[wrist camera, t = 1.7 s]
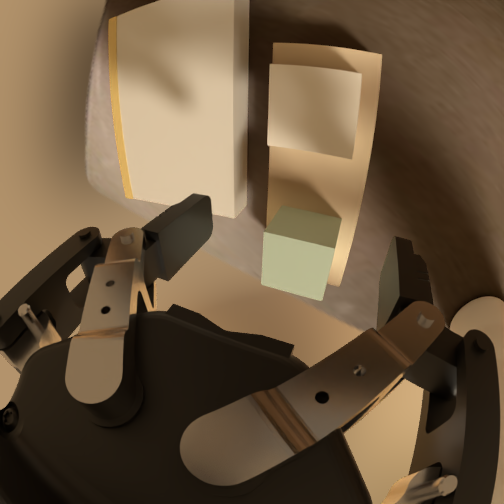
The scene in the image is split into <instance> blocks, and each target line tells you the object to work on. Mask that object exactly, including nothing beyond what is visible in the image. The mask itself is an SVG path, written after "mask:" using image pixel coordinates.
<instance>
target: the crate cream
mask: <svg viewBox="0 0 504 504" xmlns="http://www.w3.org/2000/svg"><path fill="white" fill-rule="evenodd" d="M361 84H362V74H361V73H355V72H349V71H343V70H336V69H329V68H320V67H311V66H299V65H283V64H270V70H269V106H268V136H267V145H269V146H276V147H283V148H290V149H297V150H303V151H309V152H315V153H320V154H326V155H331V156H336V157H341V158H346V159H351V160H352V156H353V151H354V145H355V138H356V131H357V123H358V114H359V105H360V95H361Z"/></svg>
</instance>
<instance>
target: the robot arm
mask: <svg viewBox="0 0 504 504" xmlns="http://www.w3.org/2000/svg"><path fill="white" fill-rule="evenodd" d="M212 230H213V221H212V205H211V198H210V197H209V196H208V195H202V194H196V193H193V194H191V195H190V196H188V197H187V198H186V199H184V200H183V201H181V202H180V203H177V204H175V205H172V206H171V207H169V208H168V209H167V210H165V212H163V213H161V214H160V215H159V216H157V217H156V218H154V219H153V220H152V221H150V222H149V223H148V224H146V225H145V226H144V227H142V228H141V229H139V228H135V227H132V228H126V229H123V230H120V231H118V232H117V233H116V234H114V236H113V237H112V238H101V234H100V231H99V229H98V228H96V227H88V228H85V229H82V230H80V231H78V232H77V233H75V234H74V235H73V236H72V237H70V238H69V239H68V240H67V241H65V242H64V243H63V244H62V245H60V246H59V247H58V248H57V249H56V250H54V251H53V252H52V253H51V254H49V255H48V256H47V257H46V258H45V259H44V260H42V262H40V263H39V264H38V265H37V266H36V267H35V268H33V269H32V270H31V271H30V272H29V273H28V274H27V275H26V276H24V277H23V279H21V280H20V281H19V282H18V283H17V284H16V285H15V286H14V287H13V288H12V289H11V290H10V291H9V292H8V293H7V294H6V295H5V296H4V297H3V298H2V299H1V300H0V354H1V355H2V356H3V357H4V358H5V359H6V360H7V362H8V363H9V364H10V365H11V366H13V367H14V368H15V369H16V370H17V371H18V372H19V373H20V374H21V375H20V379H19V382H18V384H17V387H16V389H15V392H14V394H13V396H12V398H11V400H10V402H9V403H8V405H7V406H6V407H5V408H3V409H2V410H0V504H372V500H371V496H370V494H369V492H368V489H367V487H366V485H365V482H364V480H363V478H362V476H361V473H360V471H359V469H358V466H357V464H356V461H355V459H354V457H353V455H352V453H351V450H350V448H349V445H348V443H347V441H346V439H345V436H344V433H345V432H347V431H348V430H349V429H351V428H352V427H353V426H354V425H356V424H357V423H358V422H359V421H360V420H362V419H363V418H364V417H365V416H366V415H367V414H368V413H369V412H370V411H371V410H373V409H374V408H375V407H376V406H377V405H378V404H379V403H380V402H381V401H383V400H384V399H385V398H386V397H387V396H388V395H389V394H390V393H391V392H392V391H393V390H394V389H395V388H397V387H398V385H400V384H401V382H403V381H404V379H406V380H408V381H410V382H412V383H414V384H416V385H417V386H419V387H421V388H423V389H424V391H423V400H422V409H421V416H420V422H419V428H418V434H417V440H416V445H415V450H414V455H413V459H412V463H411V467H410V471H409V475H408V476H405V477H403V478H401V479H399V480H398V481H397V482H396V483H395V484H394V485H393V486H392V487H391V489H390V491H389V492H388V494H387V496H386V498H385V499H384V501H383V502H382V503H381V504H491V502H492V497H493V492H494V487H495V481H496V474H497V467H498V458H499V445H500V392H499V379H498V369H497V361H496V354H495V348H494V345H493V343H492V341H491V339H490V338H489V337H488V336H487V335H486V334H485V333H483V332H482V331H480V330H476V329H472V330H469V331H468V332H467V333H466V334H465V336H464V337H462V336H460V335H458V334H456V333H454V332H453V331H451V330H449V329H447V328H446V327H445V320H444V317H443V315H442V313H441V312H440V310H439V309H438V308H437V307H435V306H434V305H433V299H432V293H431V287H430V282H429V276H428V271H427V266H426V263H425V262H424V260H423V259H422V258H421V256H420V255H416V254H414V252H413V247H412V242H411V240H407V239H404V238H400V237H396V236H394V237H393V239H392V242H391V245H390V248H389V251H388V254H387V257H386V259H385V262H384V265H383V268H382V271H381V276H380V282H379V302H378V317H377V328H376V330H375V329H374V328H370V329H368V330H366V331H365V332H363V333H362V334H361V335H360V336H358V337H357V338H355V339H354V340H352V341H351V342H349V343H348V344H346V345H345V346H343V347H342V348H340V349H339V350H338V351H336V352H334V353H333V354H331V355H330V356H328V357H326V358H325V359H323V360H322V361H320V362H318V363H317V364H315V365H314V366H312V367H310V368H309V367H308V366H307V365H306V364H305V363H304V362H302V361H301V360H299V359H298V358H297V357H295V356H293V355H292V354H293V350H294V345H293V344H289V343H286V342H283V341H279V340H276V339H273V338H270V337H266V336H263V335H257V334H247V333H238V332H230V331H226V330H223V329H222V328H220V327H219V326H217V325H216V324H214V323H212V322H211V321H210V320H208V319H207V318H205V317H204V316H202V315H201V314H199V313H196V312H194V311H191V310H188V309H186V308H183V307H181V306H178V305H176V304H173V305H172V306H171V307H170V308H169V310H168V311H157V299H156V296H157V295H156V294H157V293H156V282H155V280H156V279H157V278H161V279H163V280H166V281H169V280H170V279H171V278H172V277H173V276H174V275H175V274H176V273H177V272H178V270H180V268H181V267H182V266H183V265H184V264H185V263H186V262H187V261H188V260H189V259H190V258H191V257H192V256H193V255H194V254H195V253H196V252H197V251H198V250H199V249H200V248H201V247H202V245H203V244H204V243H205V242H206V241H207V240H208V239H209V238H210V236H211V234H212ZM80 264H81V266H82V269H83V271H84V274H85V276H86V277H85V278H84V279H83V280H82V281H81V282H80V283H79V284H78V285H77V286H76V287H75V288H74V289H73V290H72V291H71V292H70V293H69V291H68V289H67V286H66V279H67V277H68V275H69V274H70V273H71V272H72V271H73V270H75V269H76V268H77V267H78V266H79V265H80ZM80 323H81V324H80ZM79 324H80V330H79V332H78V334H77V335H74V336H73V337H71V338H68V337H69V336H70V335H71V334H72V333H73V331H74V330H75V329H76V328H77V327H78V325H79ZM67 338H68V339H67Z"/></svg>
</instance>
